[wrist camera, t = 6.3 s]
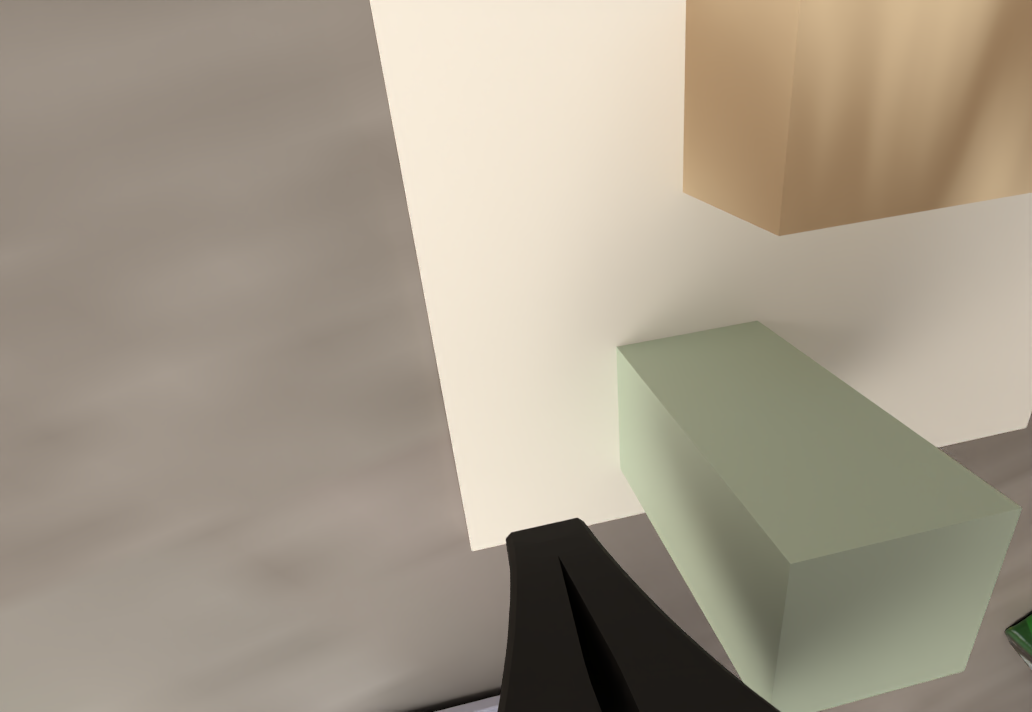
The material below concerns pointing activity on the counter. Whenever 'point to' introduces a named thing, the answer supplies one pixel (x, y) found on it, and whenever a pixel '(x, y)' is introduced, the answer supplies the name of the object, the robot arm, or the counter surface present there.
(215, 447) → the counter surface
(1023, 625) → the chalk box
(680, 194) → the mat
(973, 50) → the oak block
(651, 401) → the sage block
